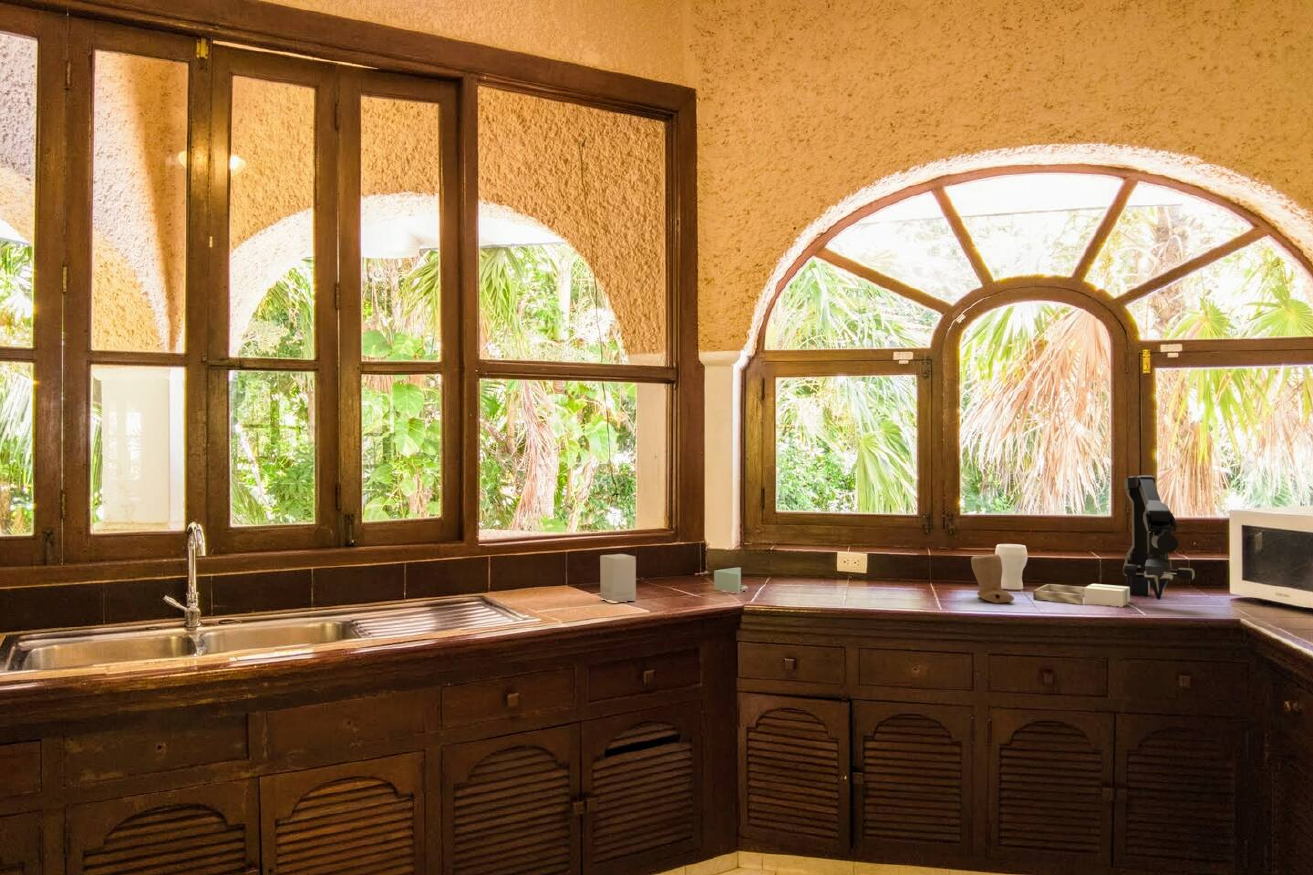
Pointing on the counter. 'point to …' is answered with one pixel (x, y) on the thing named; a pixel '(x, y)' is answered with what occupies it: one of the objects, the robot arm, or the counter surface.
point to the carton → (1107, 594)
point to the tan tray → (1059, 593)
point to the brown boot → (990, 578)
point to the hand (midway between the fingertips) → (1158, 599)
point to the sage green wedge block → (728, 580)
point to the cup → (1012, 564)
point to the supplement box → (618, 577)
